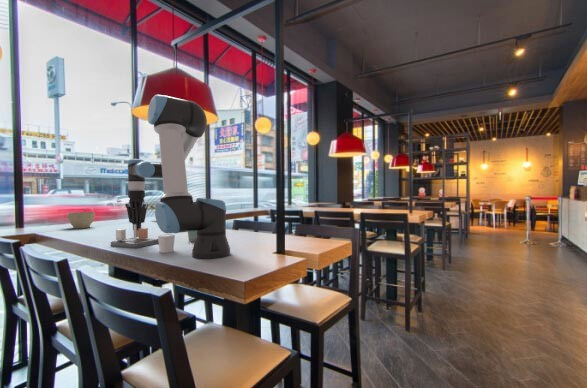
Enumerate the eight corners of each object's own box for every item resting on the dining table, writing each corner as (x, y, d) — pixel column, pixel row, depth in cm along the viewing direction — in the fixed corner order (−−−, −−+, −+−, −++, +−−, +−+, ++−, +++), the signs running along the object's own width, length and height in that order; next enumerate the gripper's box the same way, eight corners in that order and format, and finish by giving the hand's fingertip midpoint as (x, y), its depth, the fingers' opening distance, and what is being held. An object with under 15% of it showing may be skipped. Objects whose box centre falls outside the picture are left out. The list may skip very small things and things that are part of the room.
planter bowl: (77, 226, 221) (76, 211, 221) (99, 226, 222) (99, 211, 222) (61, 229, 205) (61, 213, 205) (86, 229, 206) (85, 213, 206)
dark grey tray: (159, 243, 151) (159, 238, 151) (136, 248, 138) (136, 243, 138) (134, 241, 157) (134, 237, 157) (110, 246, 143) (110, 241, 143)
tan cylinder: (148, 238, 151) (147, 228, 151) (143, 238, 148) (143, 228, 148) (142, 237, 152) (142, 227, 152) (138, 238, 150) (138, 228, 149)
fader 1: (126, 239, 147) (125, 229, 147) (121, 240, 144) (120, 230, 144) (120, 239, 148) (120, 229, 148) (115, 240, 145) (115, 229, 145)
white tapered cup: (164, 253, 127) (164, 237, 127) (154, 251, 130) (154, 235, 130) (178, 250, 133) (178, 234, 132) (168, 249, 136) (168, 233, 136)
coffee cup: (198, 242, 153) (198, 219, 152) (182, 242, 154) (182, 218, 154) (206, 240, 161) (206, 217, 161) (191, 239, 163) (191, 217, 162)
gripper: (152, 190, 153) (152, 236, 153) (132, 190, 157) (133, 235, 157) (140, 190, 146) (141, 238, 146) (120, 190, 150) (120, 237, 150)
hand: (137, 236), depth 151 cm, fingers closed
